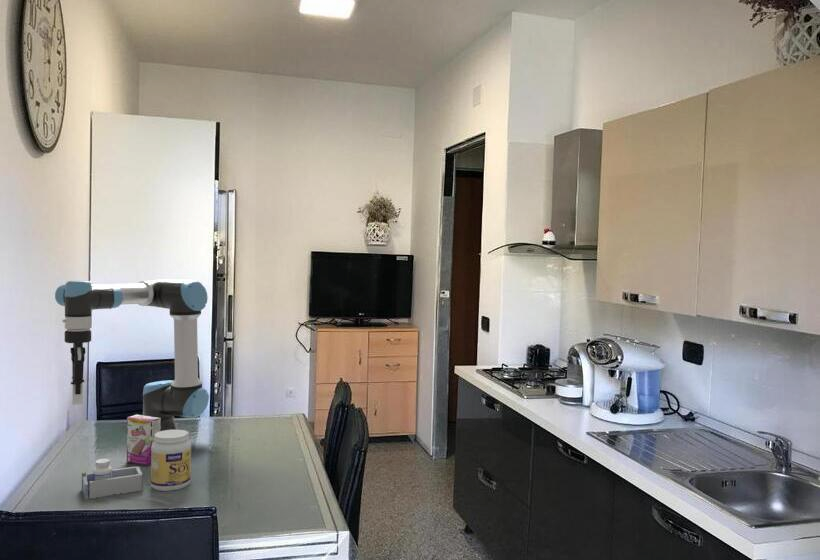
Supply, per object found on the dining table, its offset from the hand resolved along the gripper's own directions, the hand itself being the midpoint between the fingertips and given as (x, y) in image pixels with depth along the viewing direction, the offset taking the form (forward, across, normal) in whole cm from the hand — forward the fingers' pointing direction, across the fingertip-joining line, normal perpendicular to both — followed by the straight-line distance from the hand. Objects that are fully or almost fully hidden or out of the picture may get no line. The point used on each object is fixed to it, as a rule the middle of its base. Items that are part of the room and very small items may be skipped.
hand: (77, 403), depth 198 cm
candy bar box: (+27, -14, +22) cm, 37 cm away
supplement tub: (+27, +13, +26) cm, 39 cm away
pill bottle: (+27, +9, +6) cm, 29 cm away
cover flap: (+26, +9, +2) cm, 28 cm away
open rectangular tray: (+26, +9, +10) cm, 30 cm away
